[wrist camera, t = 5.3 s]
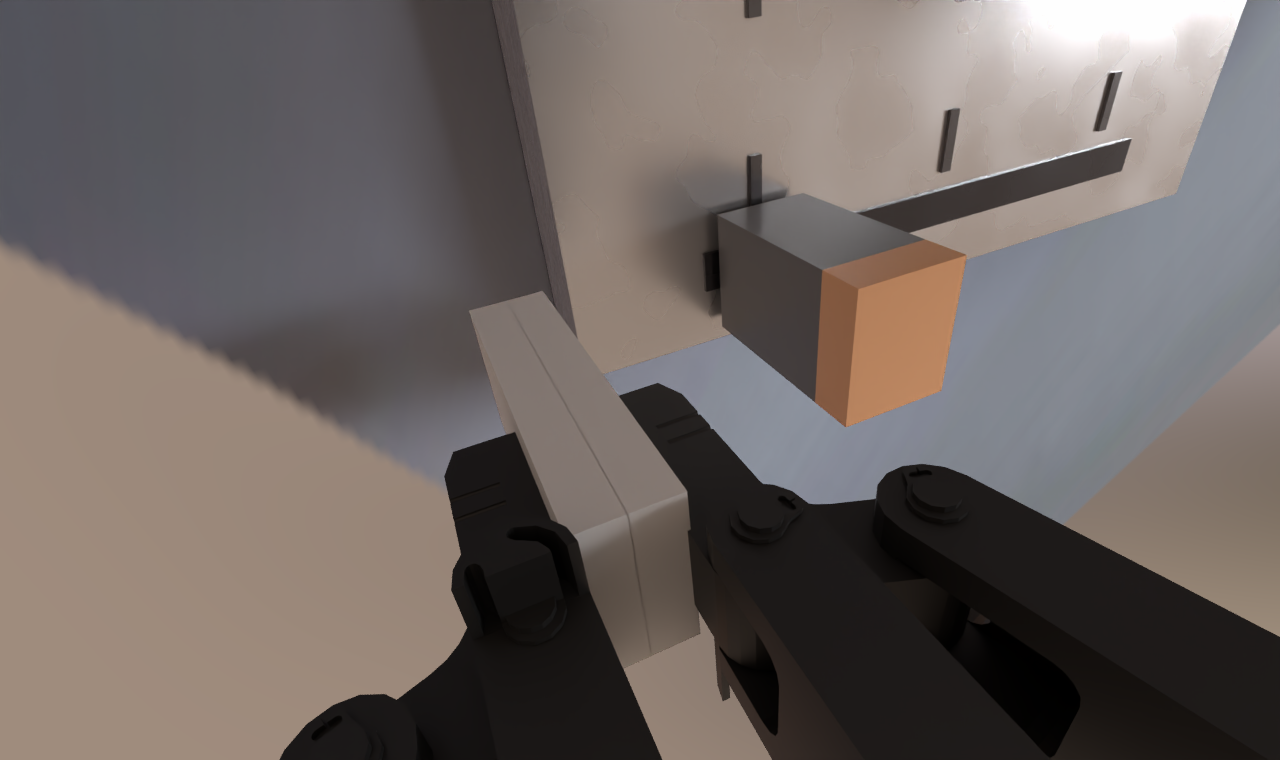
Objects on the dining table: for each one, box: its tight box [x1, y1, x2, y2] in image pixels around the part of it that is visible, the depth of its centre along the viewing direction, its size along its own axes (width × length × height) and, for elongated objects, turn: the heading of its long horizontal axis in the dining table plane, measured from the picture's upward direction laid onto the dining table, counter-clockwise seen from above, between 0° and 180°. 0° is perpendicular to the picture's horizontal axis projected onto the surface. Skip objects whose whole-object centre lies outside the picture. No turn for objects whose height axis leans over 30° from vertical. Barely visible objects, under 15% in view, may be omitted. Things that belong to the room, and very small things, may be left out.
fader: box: [717, 193, 967, 427], centre depth 14 cm, size 3×2×5 cm
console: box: [492, 0, 1247, 374], centre depth 16 cm, size 12×22×2 cm, turn 97°
